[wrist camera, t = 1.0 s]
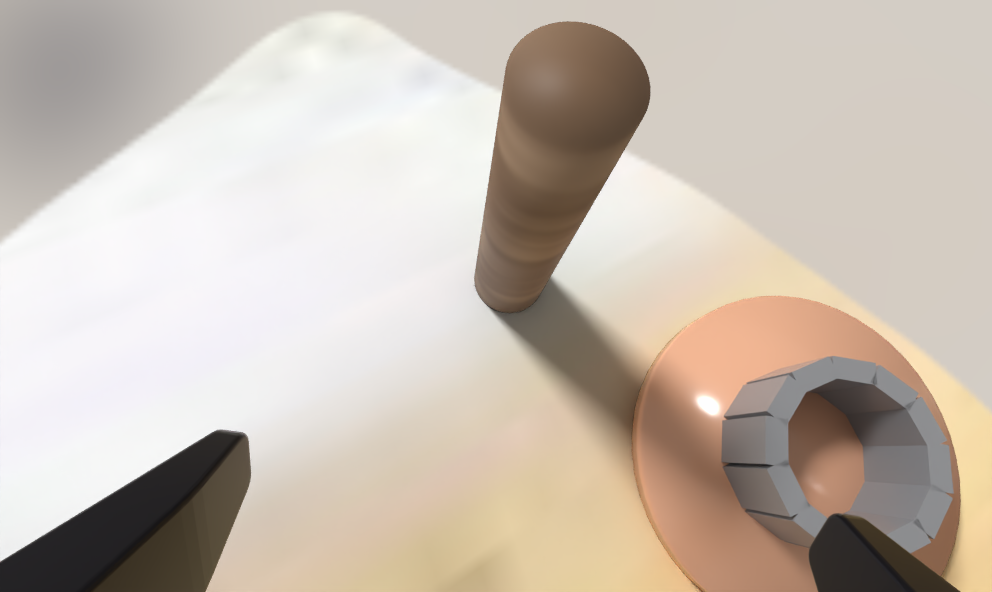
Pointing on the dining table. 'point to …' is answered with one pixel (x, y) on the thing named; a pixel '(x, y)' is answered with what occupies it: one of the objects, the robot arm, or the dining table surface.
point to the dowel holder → (787, 444)
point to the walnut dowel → (553, 152)
